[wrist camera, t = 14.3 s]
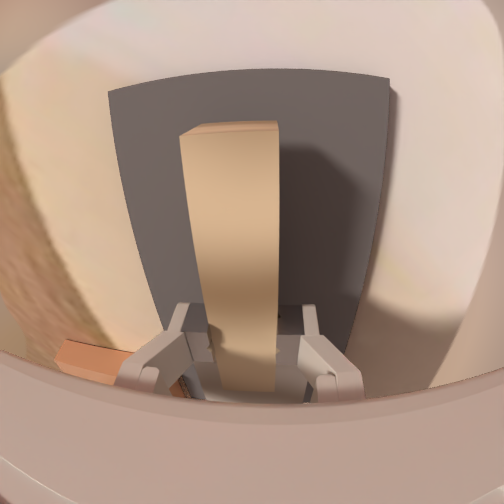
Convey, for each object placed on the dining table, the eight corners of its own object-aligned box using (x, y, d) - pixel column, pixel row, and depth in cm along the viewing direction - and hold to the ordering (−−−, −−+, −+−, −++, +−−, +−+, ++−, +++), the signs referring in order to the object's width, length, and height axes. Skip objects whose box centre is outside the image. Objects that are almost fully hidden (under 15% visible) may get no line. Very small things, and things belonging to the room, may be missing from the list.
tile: (170, 354, 19) (193, 412, 25) (66, 336, 20) (107, 395, 25) (161, 384, 17) (188, 435, 23) (53, 360, 18) (100, 415, 23)
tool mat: (326, 395, 21) (327, 401, 20) (193, 392, 21) (191, 398, 21) (384, 78, 9) (389, 78, 8) (114, 90, 10) (107, 91, 9)
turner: (298, 409, 18) (298, 439, 16) (213, 406, 18) (209, 435, 16) (333, 122, 8) (353, 134, 6) (150, 129, 9) (116, 144, 7)
